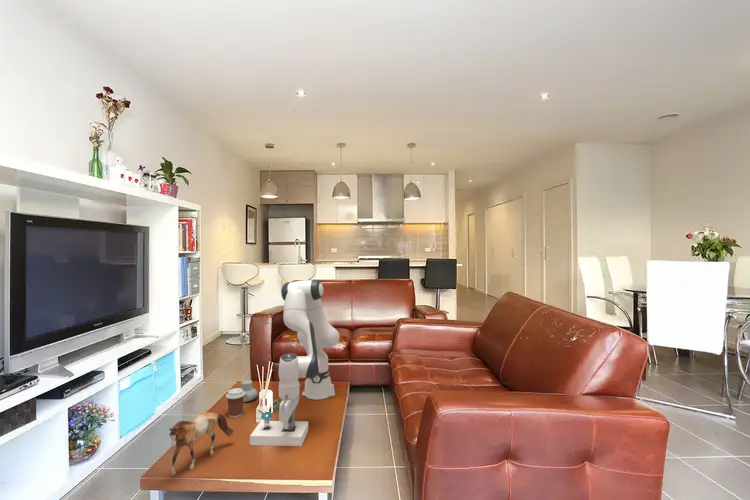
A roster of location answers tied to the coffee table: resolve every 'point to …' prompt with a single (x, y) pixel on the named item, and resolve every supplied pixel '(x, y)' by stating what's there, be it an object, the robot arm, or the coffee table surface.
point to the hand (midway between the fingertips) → (289, 422)
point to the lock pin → (266, 419)
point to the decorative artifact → (275, 405)
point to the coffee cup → (235, 402)
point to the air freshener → (248, 390)
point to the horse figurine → (196, 433)
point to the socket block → (279, 434)
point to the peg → (291, 423)
